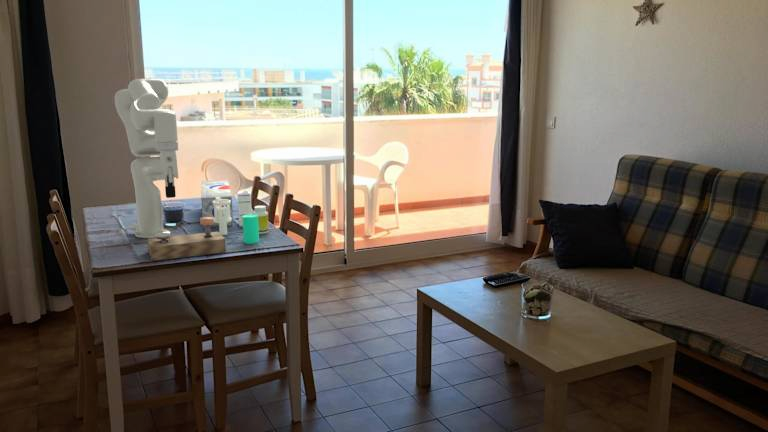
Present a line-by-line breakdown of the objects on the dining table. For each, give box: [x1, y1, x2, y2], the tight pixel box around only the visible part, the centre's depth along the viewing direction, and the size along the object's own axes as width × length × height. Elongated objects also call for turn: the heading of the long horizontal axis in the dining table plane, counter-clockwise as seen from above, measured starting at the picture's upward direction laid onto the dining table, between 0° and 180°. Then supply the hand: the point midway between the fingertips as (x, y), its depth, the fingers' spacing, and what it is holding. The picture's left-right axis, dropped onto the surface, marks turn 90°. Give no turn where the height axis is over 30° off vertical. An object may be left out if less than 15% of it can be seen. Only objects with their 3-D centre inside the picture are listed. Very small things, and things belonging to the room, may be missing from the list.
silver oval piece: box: [156, 229, 171, 243], centre depth 233 cm, size 5×5×7 cm
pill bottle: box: [252, 205, 270, 235], centre depth 265 cm, size 6×6×11 cm
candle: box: [242, 213, 260, 245], centre depth 251 cm, size 6×6×12 cm
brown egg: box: [199, 217, 214, 238], centre depth 239 cm, size 5×5×7 cm
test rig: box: [146, 231, 227, 262], centre depth 237 cm, size 26×12×5 cm, turn 116°
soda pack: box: [200, 179, 234, 228], centre depth 293 cm, size 41×13×14 cm, turn 15°
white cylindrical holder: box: [213, 197, 232, 236], centre depth 262 cm, size 7×7×15 cm
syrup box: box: [236, 190, 253, 227], centre depth 277 cm, size 6×6×14 cm
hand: (170, 197), depth 231 cm, fingers closed
